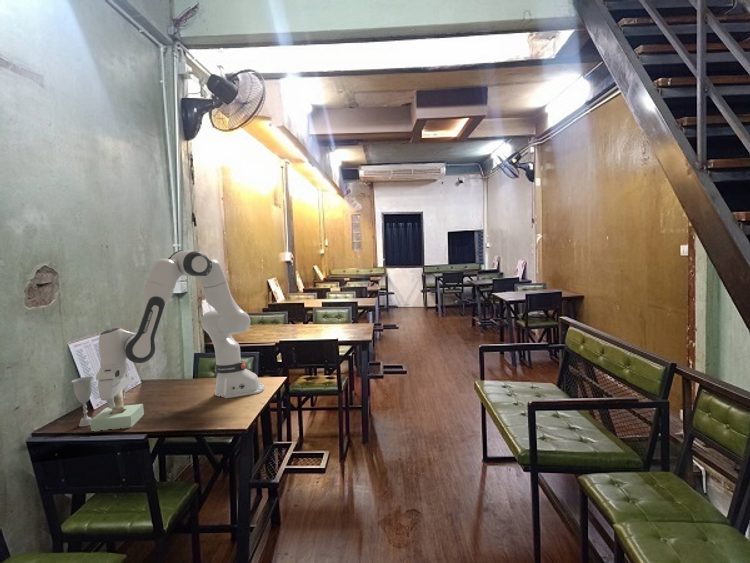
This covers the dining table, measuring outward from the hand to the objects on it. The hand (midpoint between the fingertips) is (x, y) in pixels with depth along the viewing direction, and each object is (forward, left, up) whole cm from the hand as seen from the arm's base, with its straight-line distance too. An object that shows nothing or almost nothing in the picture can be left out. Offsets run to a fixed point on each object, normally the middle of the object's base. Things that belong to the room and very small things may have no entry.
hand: (117, 403), depth 170 cm
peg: (0, 0, -8) cm, 8 cm away
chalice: (+13, -3, -8) cm, 15 cm away
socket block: (0, 0, -8) cm, 8 cm away
